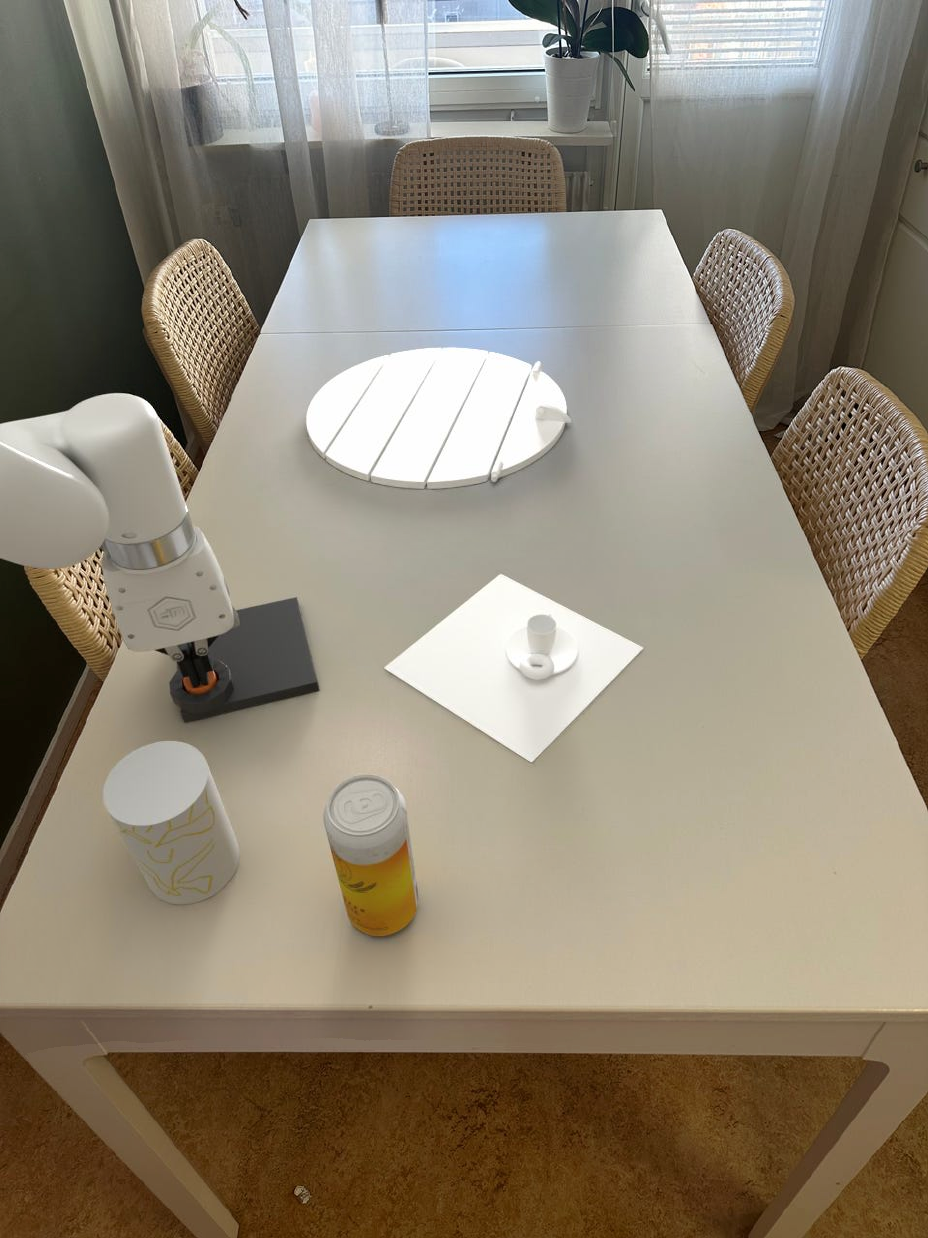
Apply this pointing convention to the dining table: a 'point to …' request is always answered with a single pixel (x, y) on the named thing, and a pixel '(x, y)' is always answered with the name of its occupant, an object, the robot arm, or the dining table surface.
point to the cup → (173, 821)
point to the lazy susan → (436, 418)
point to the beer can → (372, 853)
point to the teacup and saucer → (515, 664)
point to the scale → (253, 663)
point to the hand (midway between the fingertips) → (200, 676)
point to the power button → (201, 687)
